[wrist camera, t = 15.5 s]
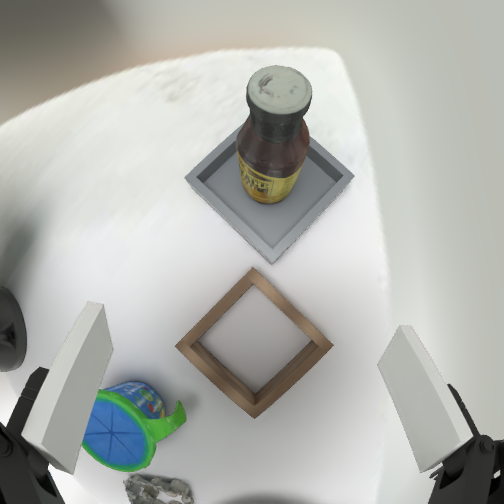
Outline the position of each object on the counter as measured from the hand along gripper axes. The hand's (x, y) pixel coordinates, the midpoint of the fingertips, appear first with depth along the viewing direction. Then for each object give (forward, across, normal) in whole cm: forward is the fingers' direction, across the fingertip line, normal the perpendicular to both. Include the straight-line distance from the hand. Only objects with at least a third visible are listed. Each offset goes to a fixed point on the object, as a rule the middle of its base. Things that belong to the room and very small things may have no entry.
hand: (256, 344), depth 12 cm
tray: (+27, +3, 0) cm, 27 cm away
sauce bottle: (+26, +3, 0) cm, 27 cm away
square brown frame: (+17, +3, -16) cm, 24 cm away
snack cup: (+12, -11, -27) cm, 32 cm away
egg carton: (+3, -9, -41) cm, 42 cm away
